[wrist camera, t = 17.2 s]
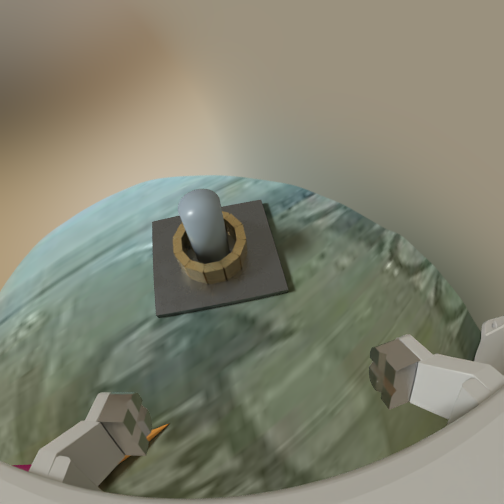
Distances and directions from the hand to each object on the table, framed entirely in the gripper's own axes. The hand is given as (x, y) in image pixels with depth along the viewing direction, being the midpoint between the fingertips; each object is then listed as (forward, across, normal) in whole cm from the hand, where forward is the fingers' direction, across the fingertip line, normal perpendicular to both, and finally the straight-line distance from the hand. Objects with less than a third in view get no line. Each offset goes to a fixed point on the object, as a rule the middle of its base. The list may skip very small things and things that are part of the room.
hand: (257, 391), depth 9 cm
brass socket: (+33, +3, +3) cm, 34 cm away
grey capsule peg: (+33, +3, +2) cm, 33 cm away
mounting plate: (+33, +3, +3) cm, 34 cm away
